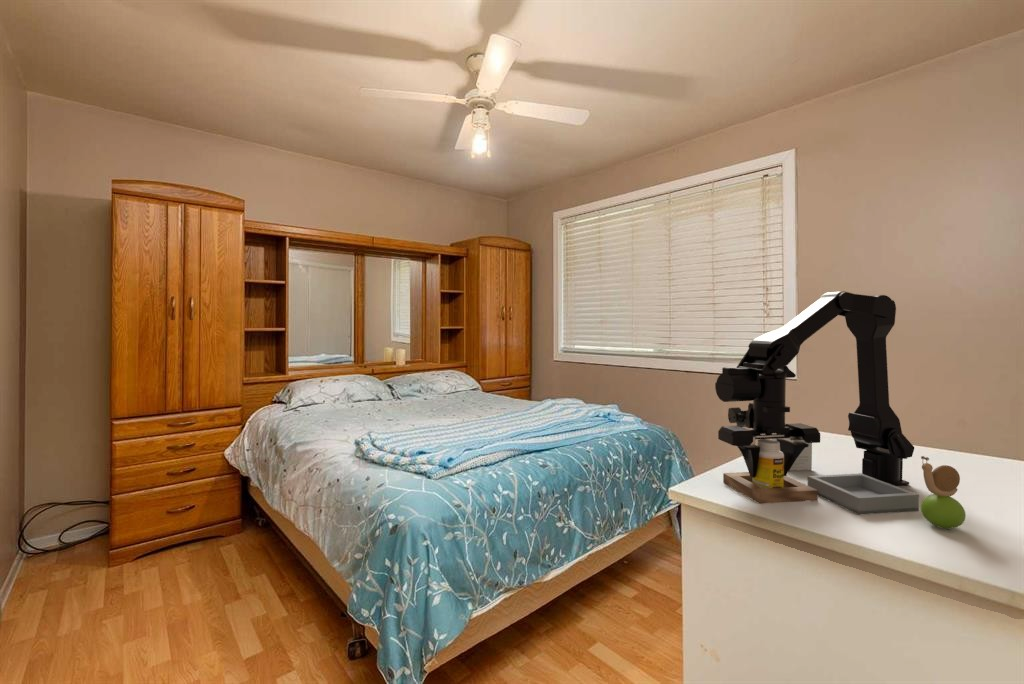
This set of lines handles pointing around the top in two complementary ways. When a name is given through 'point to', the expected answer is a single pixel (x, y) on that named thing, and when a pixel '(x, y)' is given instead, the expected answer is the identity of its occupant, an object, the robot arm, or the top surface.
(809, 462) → the product box
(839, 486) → the parts tray
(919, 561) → the top surface
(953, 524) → the snail figurine
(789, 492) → the wooden rectangular frame
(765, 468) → the supplement bottle
